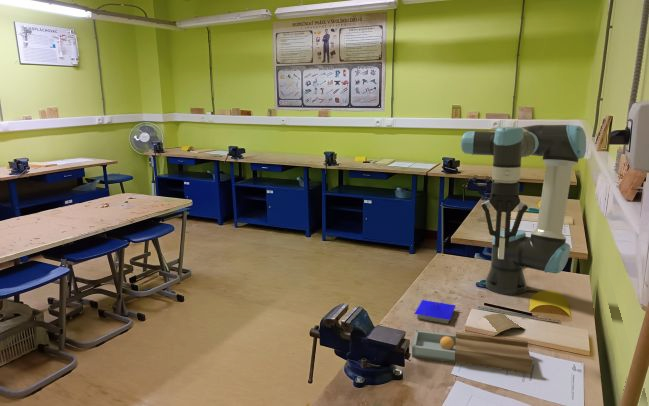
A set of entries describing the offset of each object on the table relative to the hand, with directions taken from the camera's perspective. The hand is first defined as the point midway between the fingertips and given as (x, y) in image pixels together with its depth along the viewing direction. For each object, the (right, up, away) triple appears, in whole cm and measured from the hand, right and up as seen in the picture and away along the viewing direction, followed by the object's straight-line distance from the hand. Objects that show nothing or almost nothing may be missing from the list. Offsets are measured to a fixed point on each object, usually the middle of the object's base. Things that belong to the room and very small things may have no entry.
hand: (500, 257), depth 133 cm
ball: (-17, -25, -3) cm, 31 cm away
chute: (-5, -28, -6) cm, 30 cm away
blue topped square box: (-14, -23, +22) cm, 35 cm away
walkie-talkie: (+29, -11, +72) cm, 78 cm away
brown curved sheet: (+5, -25, +13) cm, 28 cm away
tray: (-20, -28, -1) cm, 35 cm away
